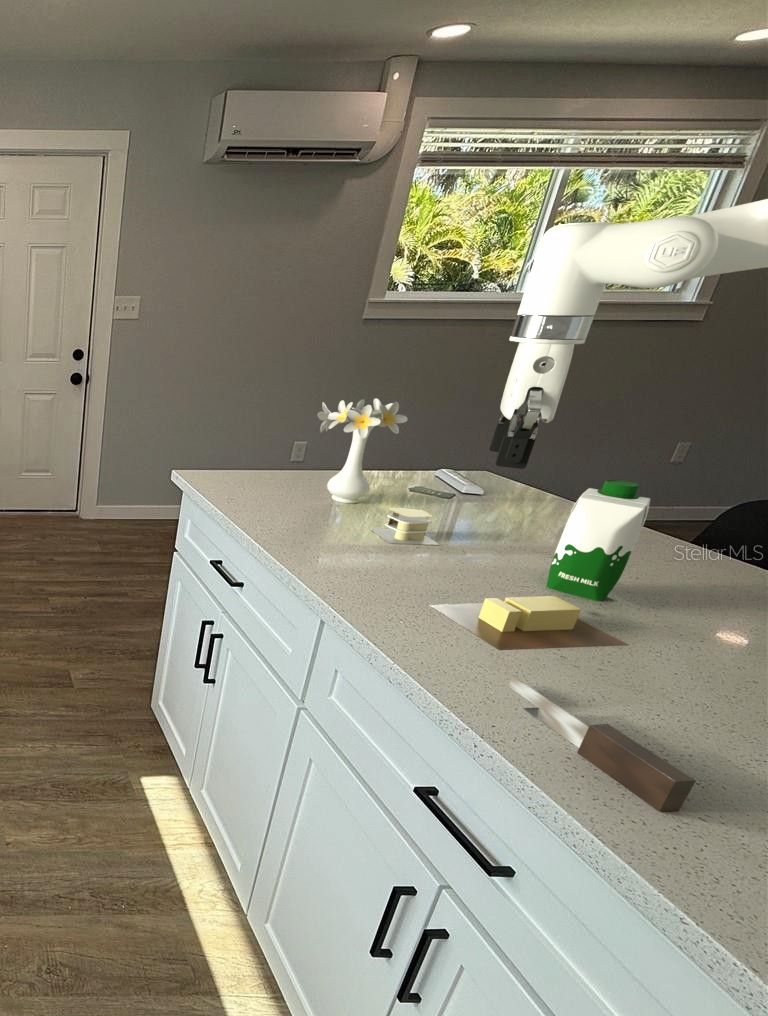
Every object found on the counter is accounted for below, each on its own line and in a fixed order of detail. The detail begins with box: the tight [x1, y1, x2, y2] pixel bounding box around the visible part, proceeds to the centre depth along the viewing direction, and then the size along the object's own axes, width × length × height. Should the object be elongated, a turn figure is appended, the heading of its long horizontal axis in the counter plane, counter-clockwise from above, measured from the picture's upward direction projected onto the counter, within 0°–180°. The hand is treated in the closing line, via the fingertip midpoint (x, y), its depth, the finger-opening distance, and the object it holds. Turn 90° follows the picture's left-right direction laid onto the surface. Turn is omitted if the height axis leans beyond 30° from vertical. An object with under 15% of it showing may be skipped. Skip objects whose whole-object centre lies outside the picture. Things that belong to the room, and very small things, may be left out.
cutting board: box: [428, 602, 629, 651], centre depth 98 cm, size 20×14×2 cm
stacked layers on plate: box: [369, 507, 441, 546], centre depth 135 cm, size 10×9×6 cm
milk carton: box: [545, 479, 651, 602], centre depth 106 cm, size 9×9×20 cm
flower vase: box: [317, 397, 409, 504], centre depth 154 cm, size 13×18×25 cm
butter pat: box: [479, 597, 522, 632], centre depth 97 cm, size 2×4×4 cm, turn 4°
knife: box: [508, 676, 697, 813], centre depth 74 cm, size 20×2×4 cm, turn 4°
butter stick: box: [503, 595, 582, 631], centre depth 98 cm, size 8×4×4 cm, turn 93°
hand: (505, 459), depth 89 cm, fingers open, 9 cm apart
